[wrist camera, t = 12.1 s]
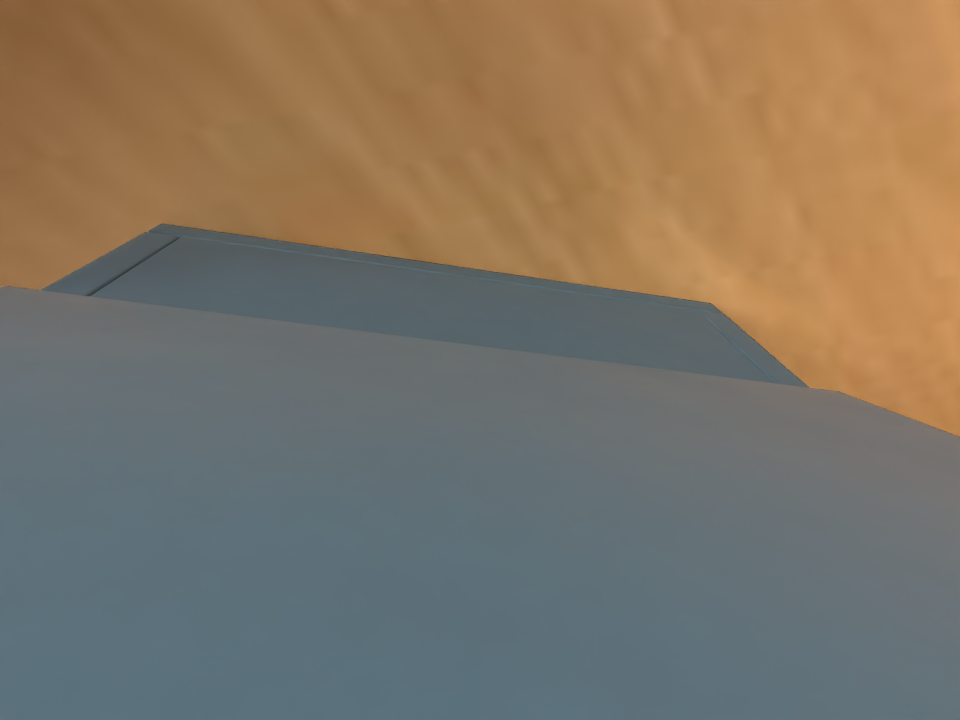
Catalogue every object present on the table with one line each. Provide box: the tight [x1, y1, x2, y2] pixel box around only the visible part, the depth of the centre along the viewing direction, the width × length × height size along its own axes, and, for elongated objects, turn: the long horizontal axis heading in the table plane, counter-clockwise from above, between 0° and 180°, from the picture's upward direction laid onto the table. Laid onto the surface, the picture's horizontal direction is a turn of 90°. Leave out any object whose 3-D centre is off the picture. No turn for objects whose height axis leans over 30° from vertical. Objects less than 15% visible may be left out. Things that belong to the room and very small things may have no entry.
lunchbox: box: [42, 224, 809, 388], centre depth 14 cm, size 15×13×4 cm
